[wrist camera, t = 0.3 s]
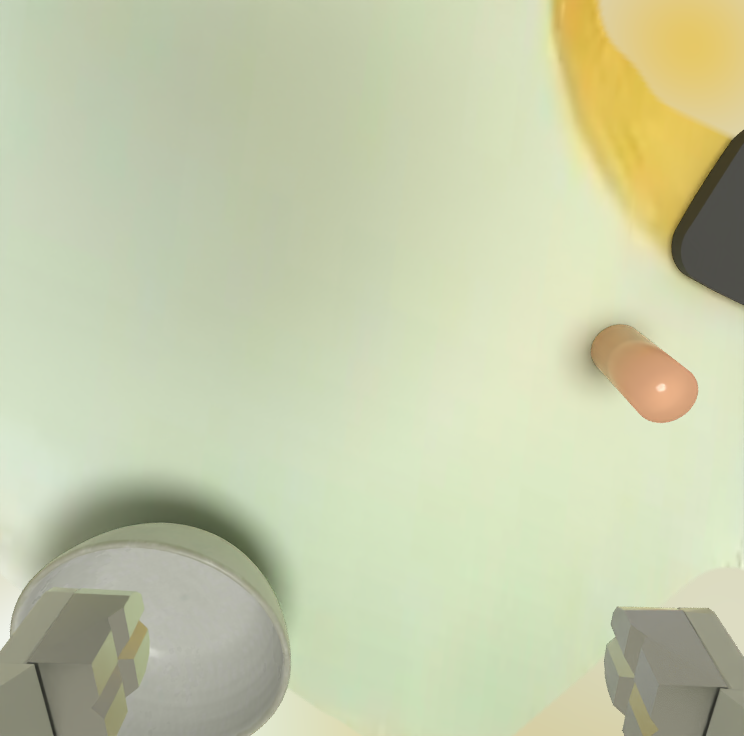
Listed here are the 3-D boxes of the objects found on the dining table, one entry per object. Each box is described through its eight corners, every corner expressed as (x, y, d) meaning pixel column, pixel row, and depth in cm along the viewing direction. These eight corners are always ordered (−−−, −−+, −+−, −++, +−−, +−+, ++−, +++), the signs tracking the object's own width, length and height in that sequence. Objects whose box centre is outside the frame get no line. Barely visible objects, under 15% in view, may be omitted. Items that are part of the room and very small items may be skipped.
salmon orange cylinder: (594, 324, 58) (638, 365, 48) (647, 324, 58) (703, 365, 48) (588, 373, 60) (629, 422, 50) (639, 373, 60) (692, 422, 50)
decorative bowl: (192, 697, 77) (159, 795, 65) (21, 562, 70) (-49, 645, 58) (353, 587, 70) (347, 674, 59) (182, 426, 63) (138, 489, 52)
